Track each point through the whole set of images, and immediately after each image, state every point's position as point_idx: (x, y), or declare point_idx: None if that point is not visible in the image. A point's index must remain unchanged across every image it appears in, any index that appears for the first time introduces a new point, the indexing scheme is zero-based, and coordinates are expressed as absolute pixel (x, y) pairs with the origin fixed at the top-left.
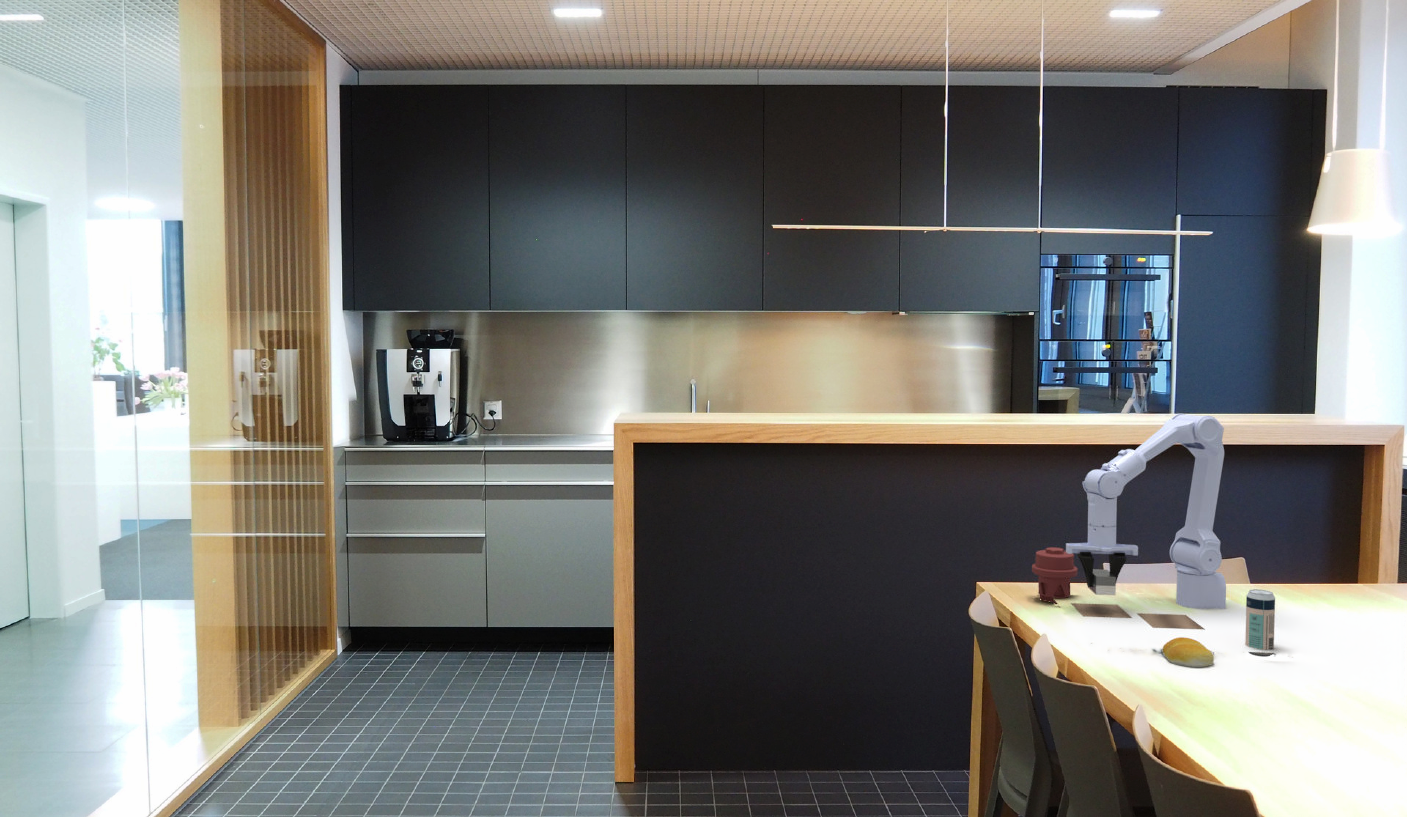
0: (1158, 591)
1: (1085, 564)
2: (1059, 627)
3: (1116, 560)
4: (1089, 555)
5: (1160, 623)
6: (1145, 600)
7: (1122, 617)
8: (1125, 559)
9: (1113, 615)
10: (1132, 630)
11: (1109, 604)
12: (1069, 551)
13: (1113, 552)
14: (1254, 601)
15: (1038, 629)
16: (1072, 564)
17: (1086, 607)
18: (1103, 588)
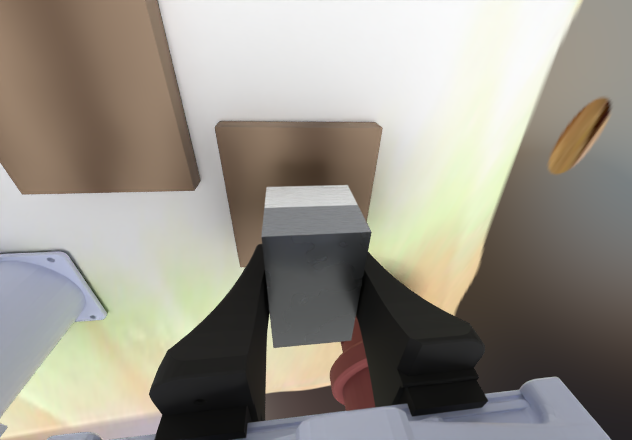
0: (139, 384)
1: (433, 306)
2: (475, 55)
3: (241, 347)
4: (419, 380)
5: (101, 44)
6: (166, 336)
7: (250, 128)
8: (164, 364)
9: (276, 151)
10: (228, 38)
11: None
12: (563, 393)
13: (246, 438)
14: None
15: (563, 15)
16: (358, 390)
17: None
18: (320, 199)
